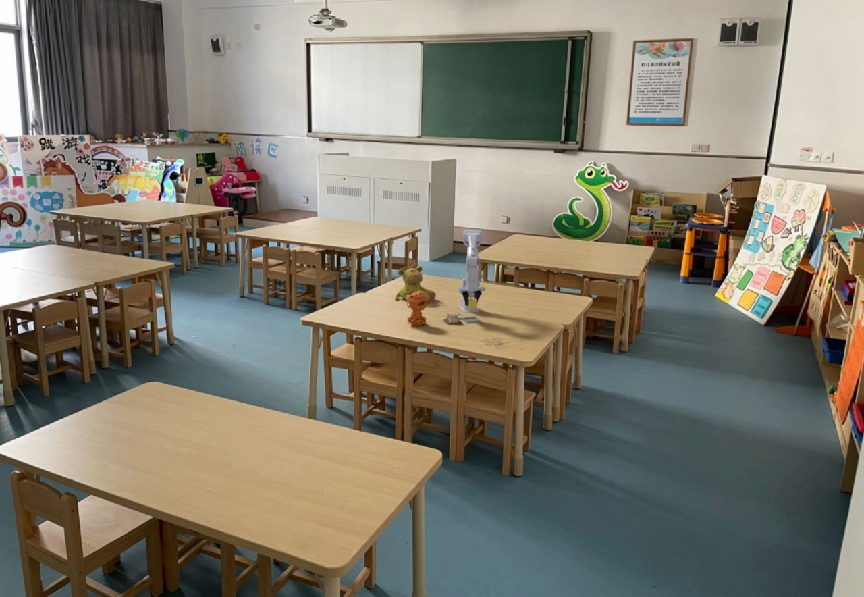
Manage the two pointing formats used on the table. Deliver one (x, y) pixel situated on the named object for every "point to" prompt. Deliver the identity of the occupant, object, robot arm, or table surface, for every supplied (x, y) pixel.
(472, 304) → the letter cube
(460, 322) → the tray walnut
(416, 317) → the orange toy figurine
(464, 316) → the tray sage
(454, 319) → the maple block
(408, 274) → the green plush bear
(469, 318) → the tray slate
